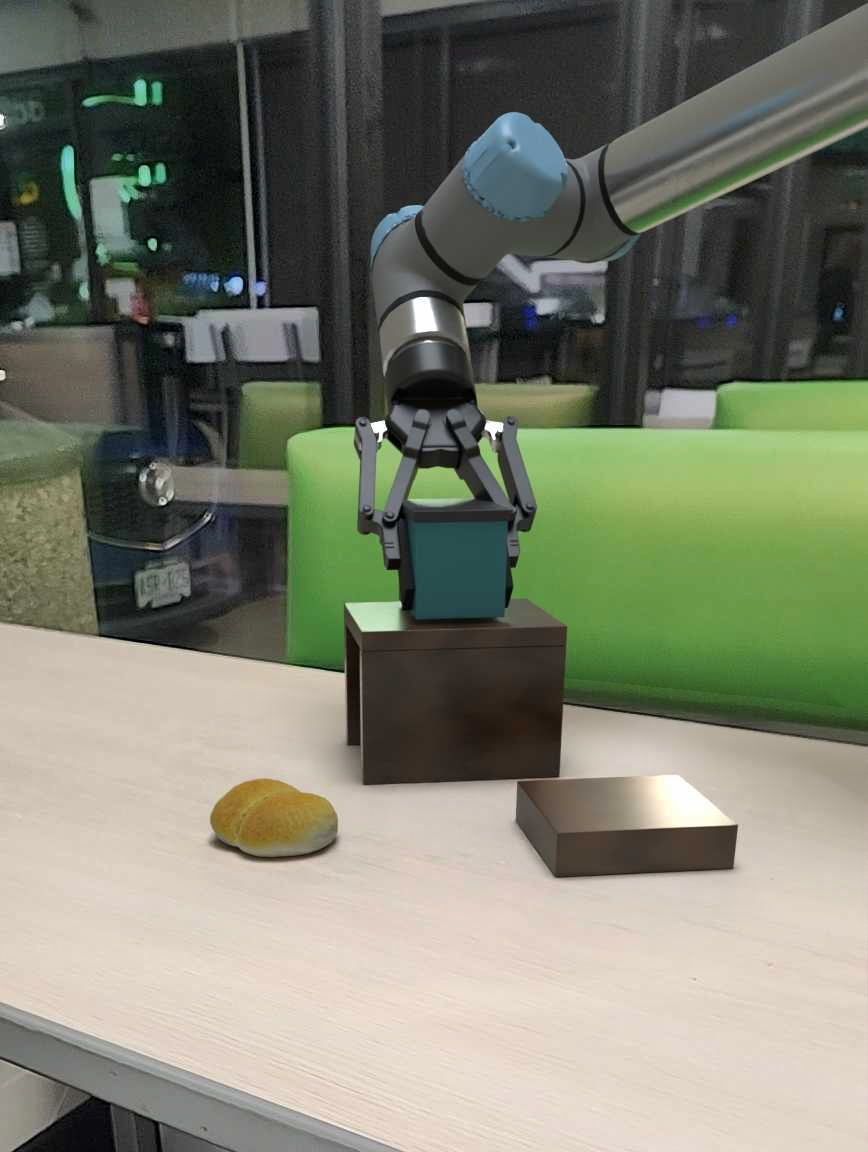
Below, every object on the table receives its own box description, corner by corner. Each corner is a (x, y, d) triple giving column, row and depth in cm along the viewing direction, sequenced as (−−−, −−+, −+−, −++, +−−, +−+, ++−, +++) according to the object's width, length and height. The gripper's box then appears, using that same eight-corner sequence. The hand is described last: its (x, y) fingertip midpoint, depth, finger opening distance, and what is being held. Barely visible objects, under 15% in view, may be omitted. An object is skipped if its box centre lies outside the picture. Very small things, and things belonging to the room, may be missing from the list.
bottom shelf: (674, 813, 98) (678, 774, 97) (733, 868, 87) (738, 824, 86) (515, 820, 97) (516, 780, 95) (555, 877, 86) (557, 833, 85)
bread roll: (273, 869, 87) (271, 811, 86) (193, 838, 93) (190, 783, 92) (365, 840, 93) (365, 785, 91) (284, 813, 99) (282, 760, 97)
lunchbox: (482, 597, 113) (484, 497, 109) (507, 617, 103) (511, 509, 100) (395, 599, 112) (396, 499, 109) (413, 620, 102) (414, 511, 99)
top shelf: (521, 734, 120) (527, 598, 115) (559, 776, 107) (567, 625, 102) (345, 740, 118) (343, 602, 113) (363, 784, 105) (361, 631, 100)
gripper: (534, 404, 117) (571, 624, 108) (308, 406, 114) (328, 630, 106) (552, 336, 110) (592, 565, 101) (311, 337, 107) (333, 571, 99)
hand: (457, 598), depth 104 cm, fingers closed on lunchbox, 7 cm apart
